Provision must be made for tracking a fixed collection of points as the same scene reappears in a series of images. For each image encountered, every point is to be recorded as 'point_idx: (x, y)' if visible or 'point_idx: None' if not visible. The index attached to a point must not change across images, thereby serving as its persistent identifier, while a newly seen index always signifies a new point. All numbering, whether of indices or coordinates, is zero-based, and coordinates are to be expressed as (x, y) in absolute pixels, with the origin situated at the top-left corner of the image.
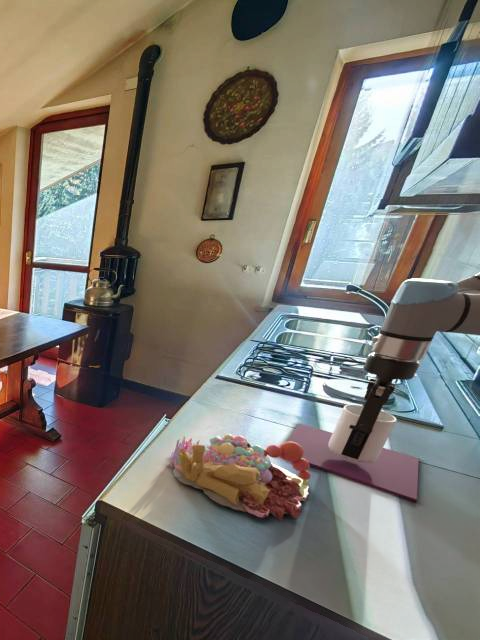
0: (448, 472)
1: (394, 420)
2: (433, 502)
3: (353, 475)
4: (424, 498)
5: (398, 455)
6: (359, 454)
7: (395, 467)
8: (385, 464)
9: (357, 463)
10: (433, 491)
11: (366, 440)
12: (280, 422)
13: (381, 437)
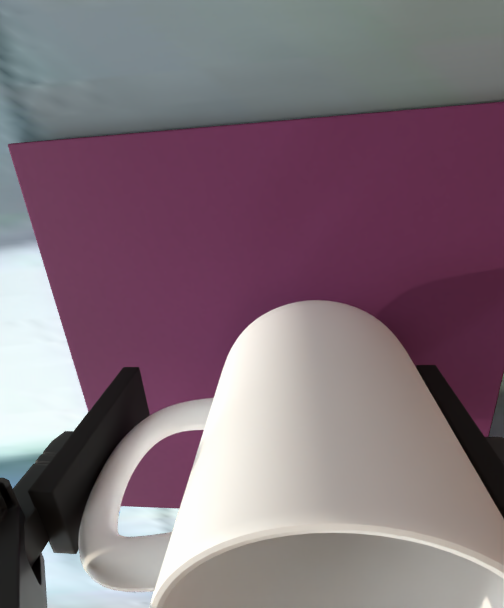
0: (17, 10)
1: (404, 539)
2: (491, 30)
3: (486, 328)
4: (473, 70)
5: (72, 217)
6: (445, 384)
7: (234, 213)
8: (240, 248)
9: None
10: (345, 45)
11: (495, 455)
12: (155, 534)
13: (438, 420)
